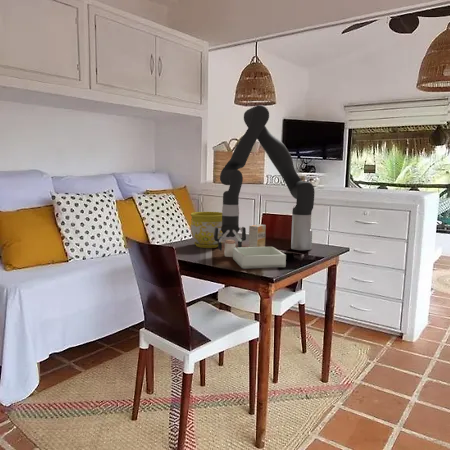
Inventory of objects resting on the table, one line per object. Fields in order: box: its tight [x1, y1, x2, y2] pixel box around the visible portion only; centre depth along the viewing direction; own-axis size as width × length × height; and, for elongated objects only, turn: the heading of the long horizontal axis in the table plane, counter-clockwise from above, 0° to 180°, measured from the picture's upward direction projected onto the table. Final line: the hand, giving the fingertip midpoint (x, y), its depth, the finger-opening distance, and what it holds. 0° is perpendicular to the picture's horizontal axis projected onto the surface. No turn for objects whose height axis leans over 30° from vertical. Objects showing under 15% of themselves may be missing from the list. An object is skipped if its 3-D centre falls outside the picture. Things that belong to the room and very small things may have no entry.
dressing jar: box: [224, 239, 237, 258], centre depth 193 cm, size 5×5×7 cm
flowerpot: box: [190, 211, 223, 249], centre depth 215 cm, size 18×18×16 cm
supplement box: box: [248, 223, 267, 247], centre depth 200 cm, size 8×5×13 cm, turn 148°
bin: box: [232, 246, 287, 270], centre depth 180 cm, size 18×18×5 cm
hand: (229, 250), depth 193 cm, fingers open, 8 cm apart
